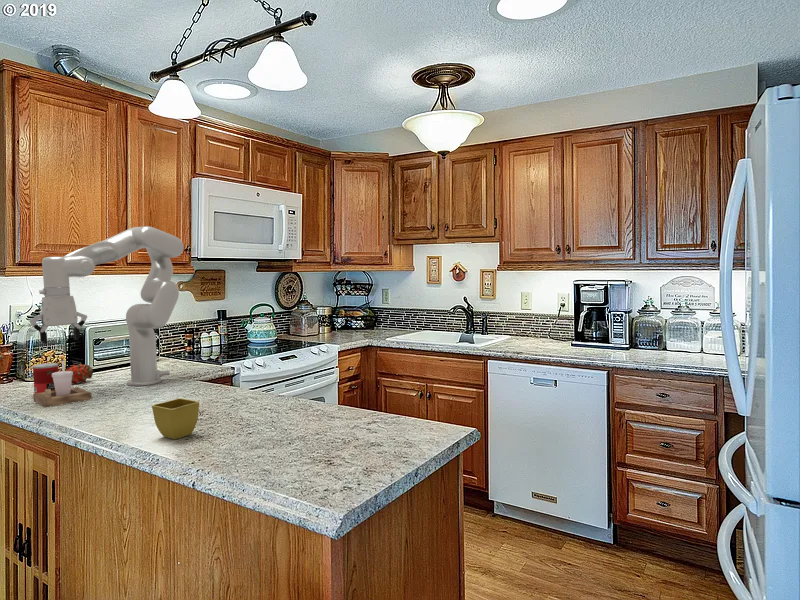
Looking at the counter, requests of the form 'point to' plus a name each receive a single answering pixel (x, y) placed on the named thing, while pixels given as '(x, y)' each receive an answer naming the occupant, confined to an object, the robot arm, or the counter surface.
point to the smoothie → (62, 381)
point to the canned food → (44, 376)
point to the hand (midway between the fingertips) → (60, 341)
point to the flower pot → (176, 417)
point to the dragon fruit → (80, 373)
